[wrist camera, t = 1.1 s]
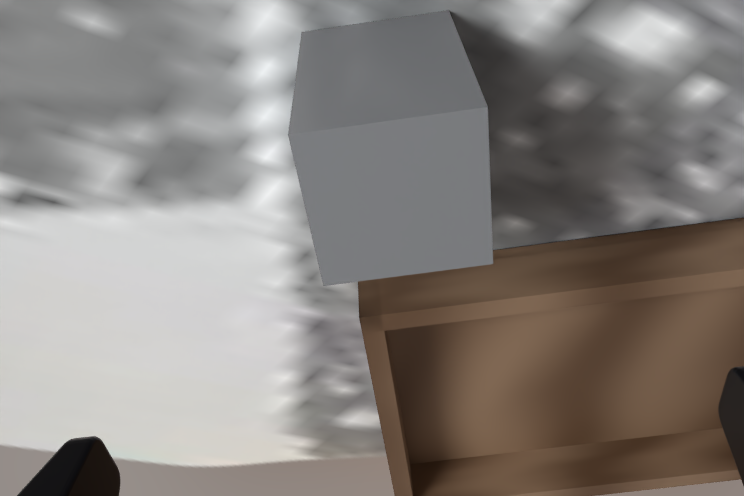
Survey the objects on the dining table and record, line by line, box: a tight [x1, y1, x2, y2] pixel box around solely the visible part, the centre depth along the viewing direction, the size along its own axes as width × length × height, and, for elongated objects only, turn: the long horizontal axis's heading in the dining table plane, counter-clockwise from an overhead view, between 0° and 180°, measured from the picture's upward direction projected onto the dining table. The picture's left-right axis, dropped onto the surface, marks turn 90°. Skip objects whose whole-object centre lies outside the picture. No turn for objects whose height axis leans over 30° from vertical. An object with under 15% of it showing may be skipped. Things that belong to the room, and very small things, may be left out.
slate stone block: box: [288, 10, 493, 286], centre depth 17 cm, size 4×4×6 cm
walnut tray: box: [358, 218, 744, 496], centre depth 25 cm, size 17×11×2 cm, turn 98°
